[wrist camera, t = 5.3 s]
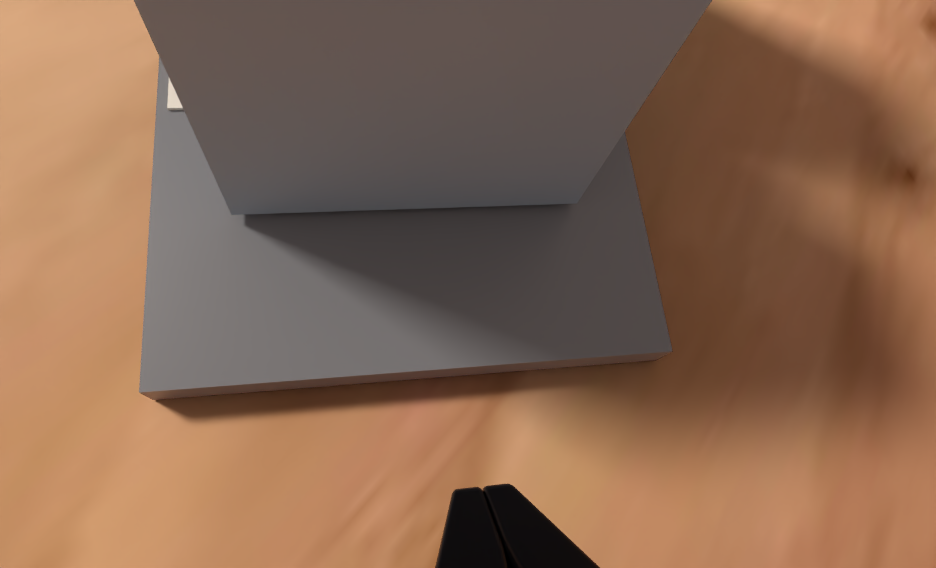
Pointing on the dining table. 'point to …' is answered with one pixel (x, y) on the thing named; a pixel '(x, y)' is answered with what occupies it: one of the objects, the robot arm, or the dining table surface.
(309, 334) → the plate
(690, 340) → the dining table surface
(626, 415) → the dining table surface
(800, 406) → the dining table surface
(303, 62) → the blue-gray rectangular block
